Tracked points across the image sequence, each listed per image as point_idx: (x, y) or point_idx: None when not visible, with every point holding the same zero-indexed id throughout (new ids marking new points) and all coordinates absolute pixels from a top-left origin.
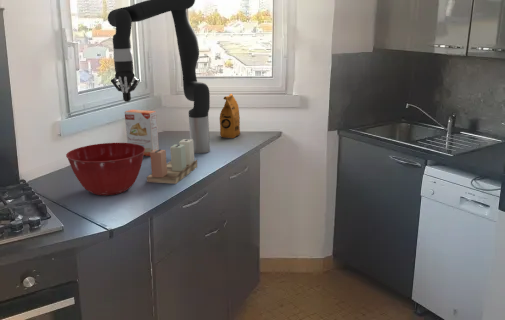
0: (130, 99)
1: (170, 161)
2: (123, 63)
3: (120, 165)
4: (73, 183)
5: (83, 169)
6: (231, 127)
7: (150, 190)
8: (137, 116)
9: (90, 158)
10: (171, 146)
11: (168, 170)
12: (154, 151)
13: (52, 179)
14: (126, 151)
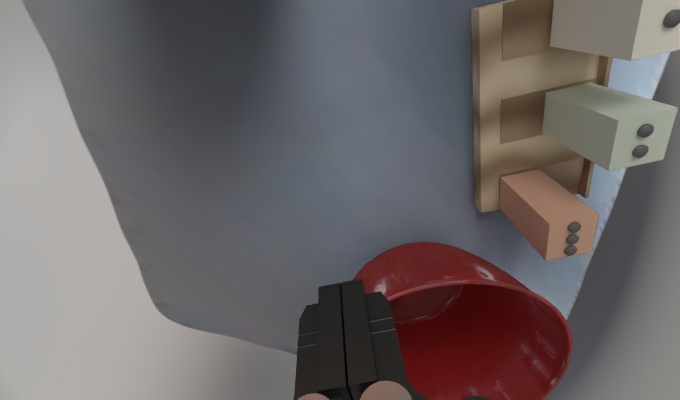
0: (384, 297)
1: (481, 17)
2: None
3: (522, 384)
4: (282, 288)
5: None
6: None
7: (517, 249)
8: None
9: None
10: (610, 159)
11: (526, 133)
12: (558, 245)
13: (199, 289)
14: (432, 268)
